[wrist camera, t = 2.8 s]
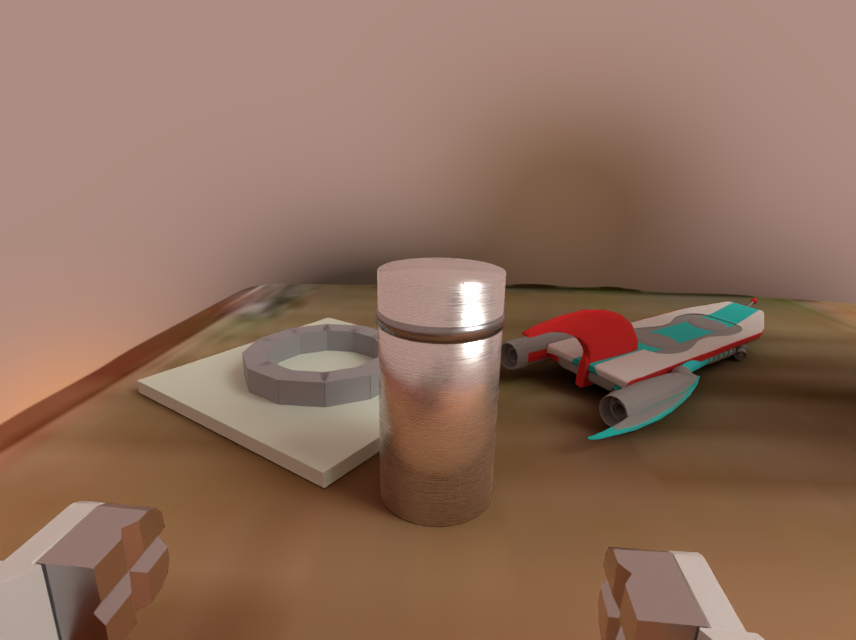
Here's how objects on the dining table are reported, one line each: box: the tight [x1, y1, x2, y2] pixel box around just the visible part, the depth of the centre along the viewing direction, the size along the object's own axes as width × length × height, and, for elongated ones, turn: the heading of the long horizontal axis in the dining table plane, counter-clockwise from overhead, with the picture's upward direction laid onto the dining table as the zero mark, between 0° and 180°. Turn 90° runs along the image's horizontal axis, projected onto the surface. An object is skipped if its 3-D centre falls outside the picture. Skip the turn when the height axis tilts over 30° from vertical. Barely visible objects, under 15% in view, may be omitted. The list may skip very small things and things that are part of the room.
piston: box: [377, 258, 506, 527], centre depth 22 cm, size 5×5×10 cm
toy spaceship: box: [501, 298, 764, 440], centre depth 37 cm, size 27×11×5 cm, turn 130°
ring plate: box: [137, 318, 380, 488], centre depth 34 cm, size 16×16×2 cm
